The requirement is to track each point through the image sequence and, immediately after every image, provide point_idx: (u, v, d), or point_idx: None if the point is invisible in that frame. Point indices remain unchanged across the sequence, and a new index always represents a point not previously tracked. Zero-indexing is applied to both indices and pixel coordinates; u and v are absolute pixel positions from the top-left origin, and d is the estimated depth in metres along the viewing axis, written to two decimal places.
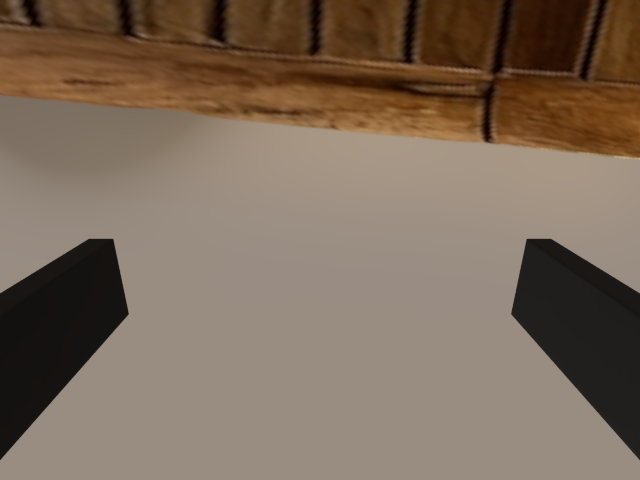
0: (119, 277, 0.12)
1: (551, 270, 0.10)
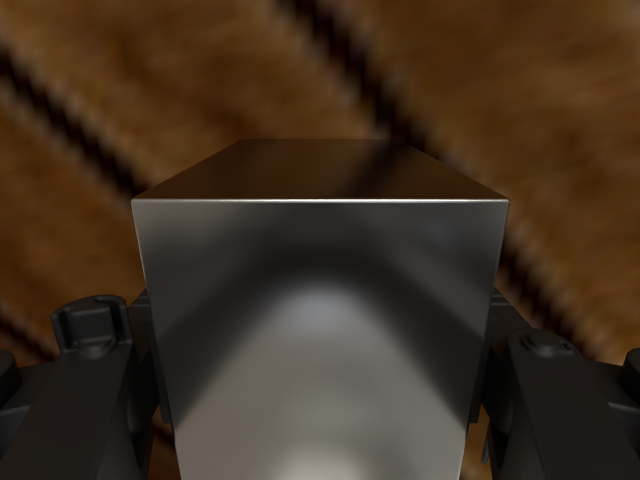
0: None
1: None
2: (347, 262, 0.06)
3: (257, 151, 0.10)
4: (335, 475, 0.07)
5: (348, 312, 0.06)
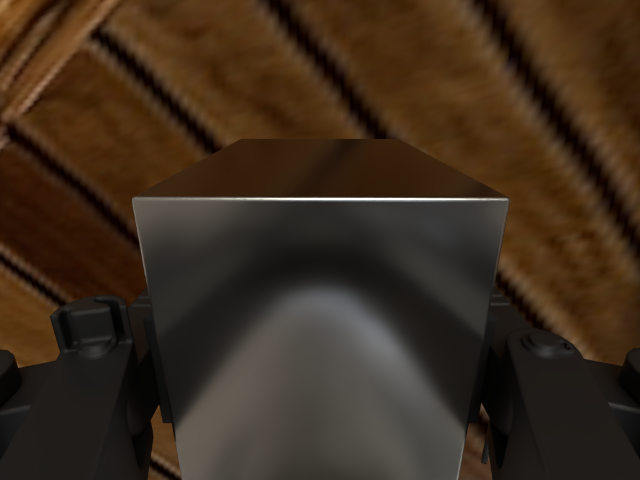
0: None
1: None
2: (347, 261, 0.06)
3: (257, 150, 0.10)
4: (335, 474, 0.07)
5: (348, 310, 0.06)
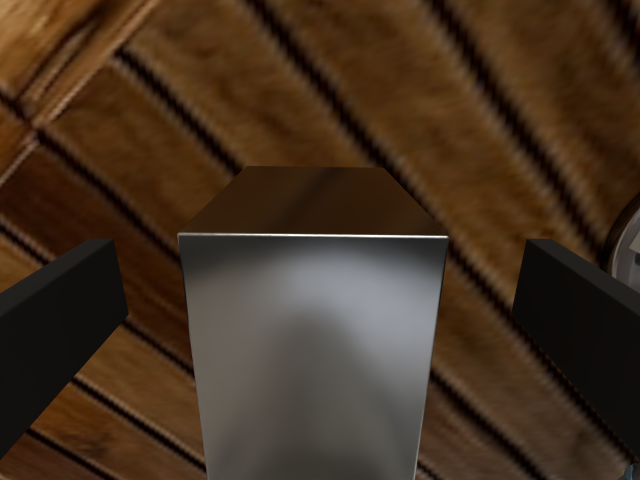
0: (119, 277, 0.12)
1: (551, 270, 0.10)
2: (333, 279, 0.08)
3: (263, 181, 0.12)
4: (323, 442, 0.10)
5: (333, 315, 0.08)
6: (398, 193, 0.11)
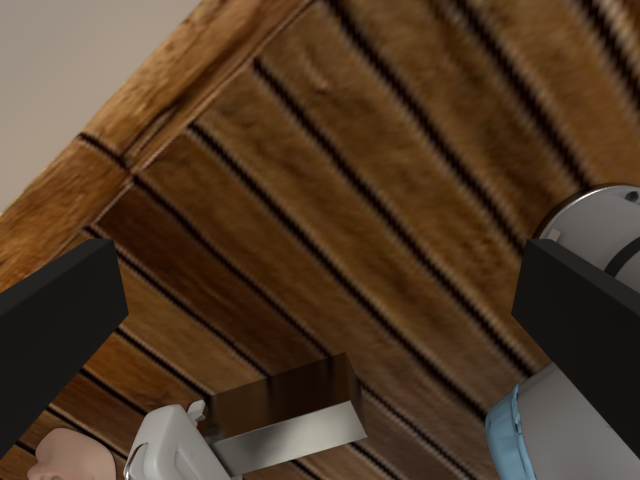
0: (119, 277, 0.12)
1: (551, 270, 0.10)
2: (351, 424, 0.41)
3: (350, 375, 0.45)
4: (312, 435, 0.42)
5: (344, 427, 0.41)
6: (363, 409, 0.45)
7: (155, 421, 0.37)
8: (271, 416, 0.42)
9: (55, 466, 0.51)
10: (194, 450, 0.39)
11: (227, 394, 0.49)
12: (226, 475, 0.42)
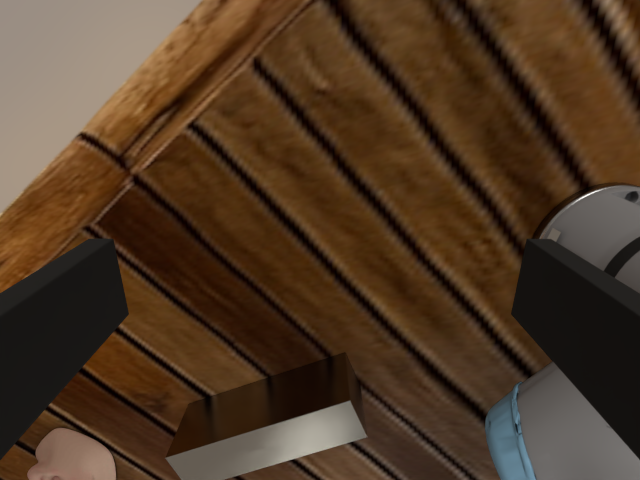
0: (119, 277, 0.12)
1: (551, 270, 0.10)
2: (351, 424, 0.41)
3: (350, 375, 0.45)
4: (312, 435, 0.42)
5: (344, 427, 0.41)
6: (363, 409, 0.45)
7: None
8: (271, 416, 0.42)
9: (55, 466, 0.51)
10: None
11: (227, 394, 0.49)
12: None
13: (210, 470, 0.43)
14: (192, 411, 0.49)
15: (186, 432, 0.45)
